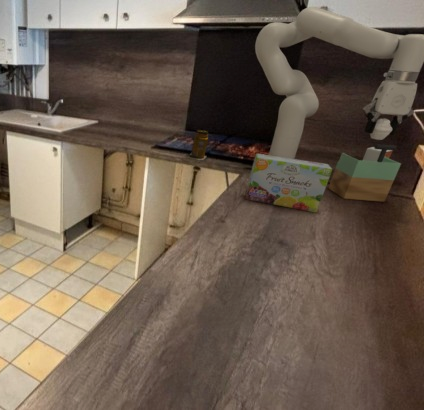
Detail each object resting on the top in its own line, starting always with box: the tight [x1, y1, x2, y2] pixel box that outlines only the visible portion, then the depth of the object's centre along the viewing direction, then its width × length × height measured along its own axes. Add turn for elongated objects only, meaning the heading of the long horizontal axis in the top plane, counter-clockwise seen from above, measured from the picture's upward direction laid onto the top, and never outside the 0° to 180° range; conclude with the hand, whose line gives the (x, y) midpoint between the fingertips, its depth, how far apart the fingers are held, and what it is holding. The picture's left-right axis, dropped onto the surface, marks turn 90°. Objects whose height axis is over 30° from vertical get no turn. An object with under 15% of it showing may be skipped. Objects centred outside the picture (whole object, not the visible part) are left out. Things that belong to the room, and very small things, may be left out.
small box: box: [362, 146, 394, 161], centre depth 145 cm, size 8×6×13 cm
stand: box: [328, 167, 395, 203], centre depth 129 cm, size 10×14×8 cm
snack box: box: [245, 153, 333, 213], centre depth 115 cm, size 21×6×15 cm, turn 68°
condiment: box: [187, 129, 209, 161], centre depth 162 cm, size 7×8×12 cm
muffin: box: [369, 117, 392, 141], centre depth 120 cm, size 6×6×7 cm
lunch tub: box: [335, 143, 402, 181], centre depth 125 cm, size 11×14×12 cm
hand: (378, 133), depth 121 cm, fingers closed on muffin, 6 cm apart
